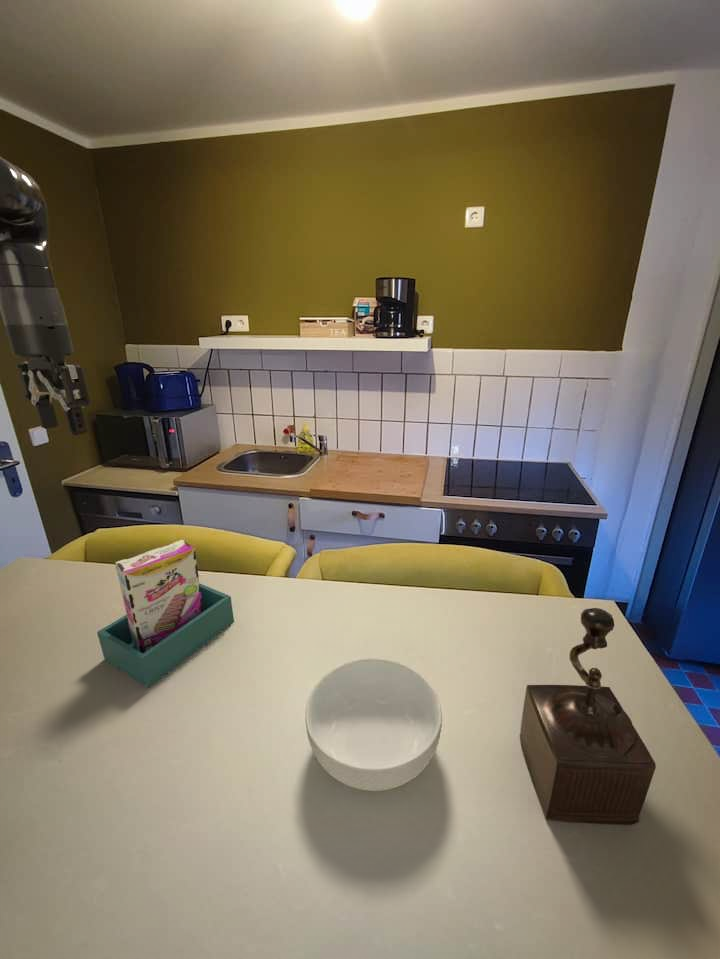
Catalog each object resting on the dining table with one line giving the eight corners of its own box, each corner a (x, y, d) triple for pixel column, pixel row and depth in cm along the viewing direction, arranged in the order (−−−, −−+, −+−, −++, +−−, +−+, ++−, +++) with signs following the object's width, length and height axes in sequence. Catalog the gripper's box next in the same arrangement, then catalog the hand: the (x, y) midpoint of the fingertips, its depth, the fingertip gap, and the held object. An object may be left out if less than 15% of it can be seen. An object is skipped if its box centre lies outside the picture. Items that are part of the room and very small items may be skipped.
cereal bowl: (417, 686, 65) (419, 649, 62) (459, 799, 49) (464, 756, 47) (304, 703, 62) (301, 664, 60) (312, 828, 47) (309, 784, 44)
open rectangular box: (104, 659, 71) (96, 631, 69) (192, 602, 85) (187, 578, 83) (148, 687, 65) (141, 658, 63) (234, 621, 79) (230, 596, 77)
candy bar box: (143, 661, 69) (123, 574, 64) (132, 645, 73) (112, 561, 67) (208, 628, 77) (195, 547, 71) (195, 615, 80) (182, 537, 74)
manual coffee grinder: (647, 826, 47) (690, 702, 40) (544, 822, 47) (571, 698, 41) (584, 706, 61) (609, 601, 55) (506, 703, 62) (521, 599, 55)
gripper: (-17, 322, 63) (15, 430, 68) (31, 322, 56) (62, 442, 61) (40, 322, 69) (65, 421, 74) (90, 321, 62) (113, 431, 67)
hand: (64, 430), depth 68 cm, fingers open, 8 cm apart
